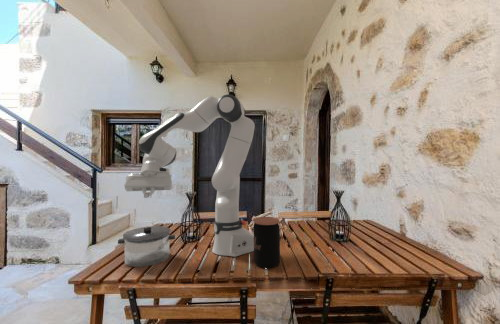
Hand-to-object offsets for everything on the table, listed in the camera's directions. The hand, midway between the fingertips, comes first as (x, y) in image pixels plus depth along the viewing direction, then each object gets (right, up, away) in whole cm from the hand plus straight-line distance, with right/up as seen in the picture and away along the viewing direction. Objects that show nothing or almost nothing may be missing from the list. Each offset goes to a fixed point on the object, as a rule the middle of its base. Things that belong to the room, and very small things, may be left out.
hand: (147, 196), depth 109 cm
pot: (+1, -27, -1) cm, 27 cm away
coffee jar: (+52, -26, -8) cm, 59 cm away
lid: (0, -17, -1) cm, 17 cm away
